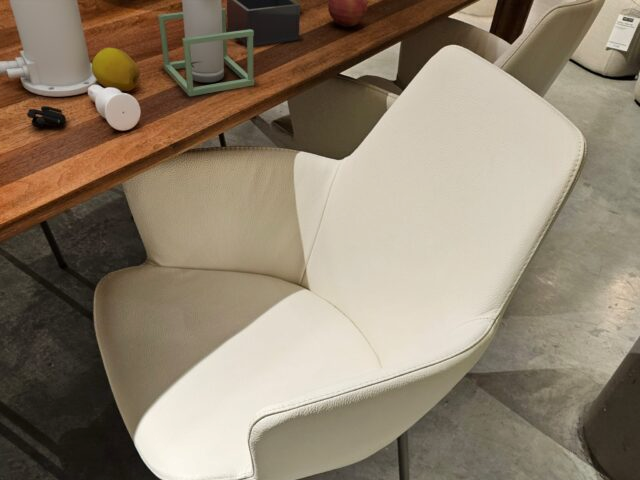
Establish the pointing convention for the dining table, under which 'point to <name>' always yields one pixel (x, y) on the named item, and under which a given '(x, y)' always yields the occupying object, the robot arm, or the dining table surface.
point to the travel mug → (198, 21)
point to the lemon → (115, 69)
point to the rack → (171, 66)
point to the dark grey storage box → (265, 20)
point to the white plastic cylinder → (115, 106)
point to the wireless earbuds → (46, 117)
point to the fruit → (347, 11)
